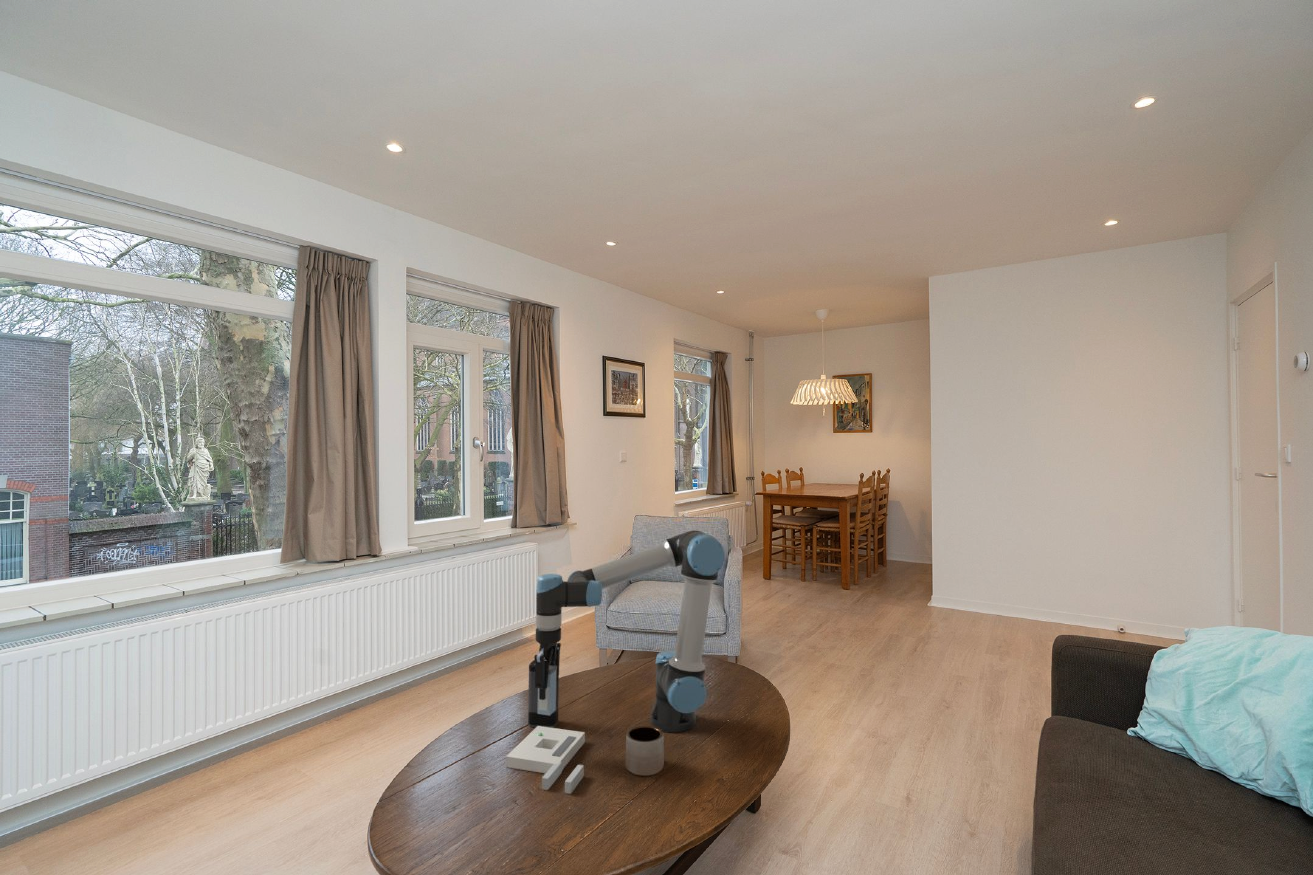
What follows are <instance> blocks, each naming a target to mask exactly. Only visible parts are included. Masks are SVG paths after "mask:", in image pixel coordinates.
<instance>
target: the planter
mask: <svg viewBox="0 0 1313 875" xmlns="http://www.w3.org/2000/svg"><path fill="white" fill-rule="evenodd" d="M625 740H626V741H625V744H626V746H625V768H626V770H628V772H629V773H630V774H633V775H635V776H639V777H640V776H641V777H649V776H654V775H657V774H658V773H660V772H661V771H662V770H663V768H664V765H665V764H664V761H665V760H664V759H665V758H664V757H665V755H664V754H665V753H664V752H665V750H664V743H665V742H664V731H662V730H661V729H659V728H657V727H654V726H652V725H646V724H645V725H643V724H642V725H637V726H633V727H631V728H629V729H627V731H626V738H625Z"/></svg>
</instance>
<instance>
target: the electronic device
mask: <svg viewBox="0 0 1313 875" xmlns="http://www.w3.org/2000/svg"><path fill="white" fill-rule="evenodd" d="M557 678H559V680H558V681H556V710H555V711H554V712H553V713H552V714H551V715H543V714H537V709H538V688H535V659H534V660H532V661H531V662H530V663H529V664H528V701H527V702H528V707H527V709H528V712H527V713H528V715H527V716H528V718H527V719H528V720H527V726H529V727H531V728H536V727H537V726H542V727H549V728H556V726H557V724H558V723H559V692H560V691H559V690H560V688H559V684H560V683H559V682H560V675H559V676H557Z"/></svg>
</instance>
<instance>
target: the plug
mask: <svg viewBox="0 0 1313 875" xmlns="http://www.w3.org/2000/svg"><path fill="white" fill-rule="evenodd" d="M556 670H557V665H554V666H553V665H549V670H548V683H547V687H549V690H548V710H547V711H545V710H539V688H538V709H537V714H543V715H551V714H552V713H553V712H554V711H555V710H556Z"/></svg>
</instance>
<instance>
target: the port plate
mask: <svg viewBox="0 0 1313 875" xmlns="http://www.w3.org/2000/svg"><path fill="white" fill-rule="evenodd" d="M585 743H586V732H585V731H584V732H583V731H577V730H569V729H561V728H556V727H553V728H549V727H542V726H537V727H534V729H533V730H532V731H531V732H530V733H528V735H527V736H526V737H525V738H523V740H521V742H520V743H518V745H516V746H515V747H514V748H513V749H511V751H510V752H509V753H508V754H507V755H506V756H505V767H506V768H509V769H510V768H511V769H517V770H523V771H528V772H535V773H536V772H537V773H542V774H546V772H547V771H548V770H549V769H550V768H551V767H552V766H553V764H559V762H562V770H564V768H565V767H566V766H567V765H568V764H569V762H570V761H571V760H572V759H573V757H574V756H575V755H576V754H577V752H578V751H579V750H580V749H581V748H582V747H583V746H584V745H585ZM555 762H557V763H555Z"/></svg>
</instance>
